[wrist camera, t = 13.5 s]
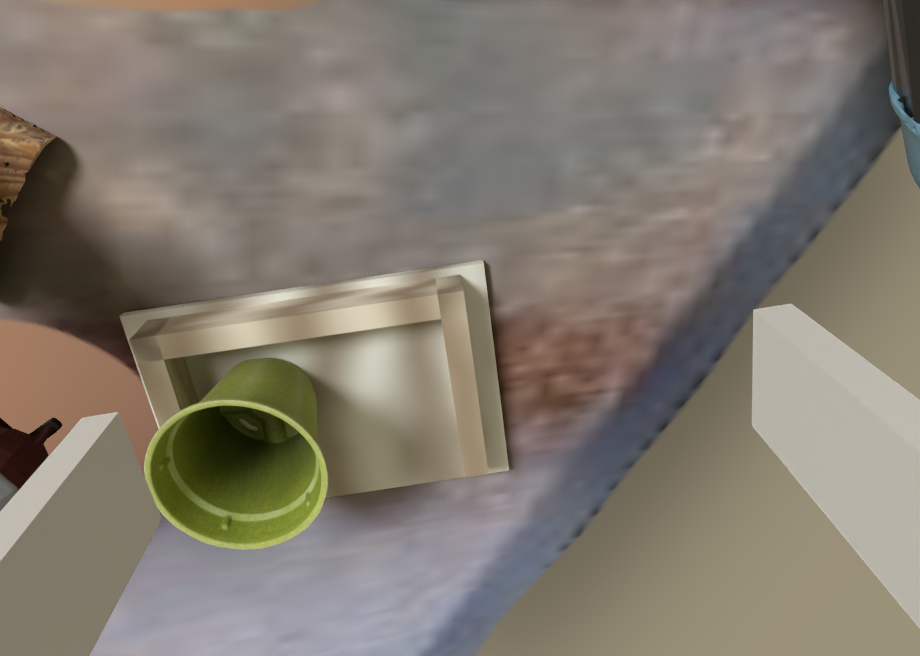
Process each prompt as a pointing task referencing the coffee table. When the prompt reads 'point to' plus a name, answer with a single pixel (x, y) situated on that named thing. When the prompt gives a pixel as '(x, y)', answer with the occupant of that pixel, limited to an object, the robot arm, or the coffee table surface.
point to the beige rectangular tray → (351, 368)
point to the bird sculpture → (17, 155)
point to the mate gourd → (21, 456)
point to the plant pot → (242, 459)
